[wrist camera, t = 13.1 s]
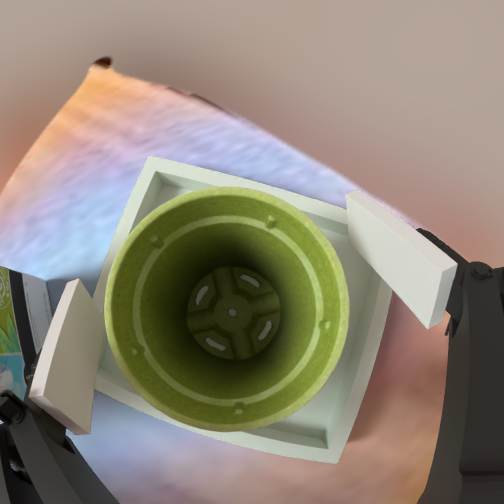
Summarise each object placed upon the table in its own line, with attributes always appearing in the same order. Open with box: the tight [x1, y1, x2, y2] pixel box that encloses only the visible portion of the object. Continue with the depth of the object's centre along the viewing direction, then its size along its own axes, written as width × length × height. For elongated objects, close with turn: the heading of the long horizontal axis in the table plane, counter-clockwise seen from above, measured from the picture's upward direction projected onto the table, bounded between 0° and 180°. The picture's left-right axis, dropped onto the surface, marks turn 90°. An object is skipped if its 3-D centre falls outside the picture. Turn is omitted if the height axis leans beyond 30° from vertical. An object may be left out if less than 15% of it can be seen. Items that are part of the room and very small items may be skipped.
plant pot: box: [104, 186, 350, 432], centre depth 15 cm, size 9×9×9 cm
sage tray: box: [92, 156, 393, 464], centre depth 19 cm, size 18×16×3 cm
